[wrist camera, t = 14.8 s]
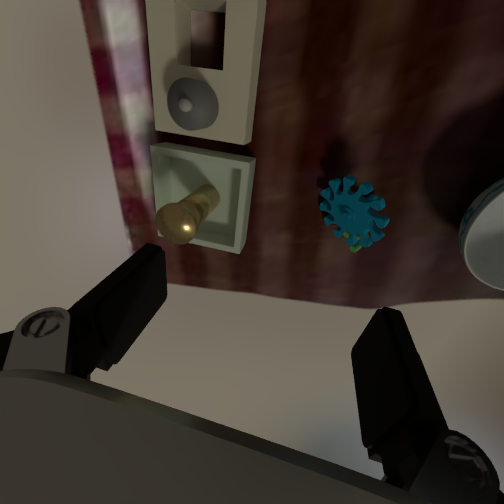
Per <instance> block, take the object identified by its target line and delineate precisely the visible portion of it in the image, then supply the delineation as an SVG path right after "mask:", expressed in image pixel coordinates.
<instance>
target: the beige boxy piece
mask: <svg viewBox="0 0 504 504" xmlns="http://www.w3.org/2000/svg"><path fill="white" fill-rule="evenodd" d="M145 2H146V15H147V27H148V40H149V53H150V66H151V79H152V91H153V104H154V117H155V130H158V131H164V132H170V133H176V134H181V135H187V136H193V137H199V138H205V139H211V140H217V141H223V142H229V143H235V144H241V145H245V144H247V143H249V142H251V137H252V128H253V119H254V110H255V101H256V92H257V83H258V74H259V65H260V56H261V47H262V38H263V29H264V20H265V11H266V0H145ZM190 9H191V10H201V11H211V12H221V13H226V19H225V40H224V60H223V71H222V70H214V69H206V68H199V67H191V10H190Z"/></svg>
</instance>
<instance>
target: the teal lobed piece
mask: <svg viewBox="0 0 504 504" xmlns="http://www.w3.org/2000/svg"><path fill="white" fill-rule="evenodd" d="M355 183H356V178H355V177H354V176H351V175H348V176H346V177H344V178H343V184H344V189H343V192H341V191H340V188H339V187H340V185H341V179H340V178H335V179H332V180H331V181H329V185H330V187H331V188H332V190H333V193H334V197H333V196H332V190H331V188H330V187H327V188H326V189H324V190H323V191H322V192H321V195H322V196H323V197H324V198H325V199H327V200H328V201H326V200H325V201H323V202H321V204H320V209H321V210H322V211H326V212H328V213H330V214H331V215H332V216H333V217H332V216H331V215H328V216H326V217H325V218H324V221H325V224H326V225H330V224H337V225H339V226H340V227H341V228H340V227H338V228H336V229H335V230H333V233H334V235H335V236H336V237H337V238H339V237H340V236H342V235H344V237H345V238H347V239H346V242H347V243H348V244H349V245H351V246H350V250H351V251H352V252H356V251H357V250H359V249H360V248H361V247H362V246H363V247H369V246H370V245H371V244H372V240H373V241H378V240H380V239H381V238H382V237H384V236H385V235H384V233H383V232H382V231H381V230H379V229H378V228H377V227H376V226H375V225H374V223H373V221H372V220H374V221H375V223H376V225H377V226H378V227H379V228H384V227H385V226H386V225H387V224H388V223H389V220H390V218H389V217H388V216H384V215H379V214H377V213H375V212H374V211H373V210H371V208H370V206H371V207H372V208H373V209H375V210H377V211H379V210H381V209H383V208H384V207H385V201H384V198H383V197H378V198H377V196H376V195H375V194H371V195H370V196H368V197H367V198H365V199H364V198H363V197H362V194H363V195H367V194H368V193H370V192H371V191H373V187H372V185H371V184H370V183H369V182H368V181H366V182H365V183H363V184H361V185H360V187H359V189H358V191H357V192H355V193H354V192H352V191H351V189H350V187H351V186H352V185H353V184H355ZM329 203H330V204H329ZM330 205H331V206H330ZM368 231H370V232H371V239H372V240H371V239H370V237H369V235H368Z"/></svg>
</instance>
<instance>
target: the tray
mask: <svg viewBox="0 0 504 504" xmlns="http://www.w3.org/2000/svg"><path fill="white" fill-rule="evenodd" d="M150 151H151V162H152V172H153V183H154V194H155V205H156V213H157V211H158V210H159V209H160V208H161V207H162V206H164V205H166V204H168V203H177V202H179V201H180V200H182V199H183V198H185V197H186V196H187V195H189V194H190V193H192V192H193V191H194V190H196V189H197V188H199V187H200V186H202V185H205V184H207V185H211V186H213V187H215V188H216V189H217V191H218V192H219V195H220V203H219V205H218V206H217V207H216V208H215V209H214V210H213V211H212V212H211V213H210V214H209V215H208V216H207V217H206V218H205V220H204V221H203V222H202V223H201V224H200V225H199V226H198V232H197V234H196V236H195V237H194V238H193V239H192V240H191V241H190V242H188V243H193V244H197V245H202V246H206V247H211V248H215V249H219V250H224V251H228V252H233V253H237V254H240V252H241V250H242V248H243V246H244V244H245V242H246V234H247V226H248V218H249V210H250V202H251V194H252V186H253V178H254V170H255V162H256V158H254V157H248V156H243V155H237V154H231V153H226V152H220V151H214V150H208V149H203V148H197V147H191V146H185V145H180V144H174V143H168V142H163V143H158V144H154V145H150ZM158 236H162V235H161V233H160V232H159V230H158ZM162 237H163V236H162Z"/></svg>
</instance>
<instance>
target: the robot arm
mask: <svg viewBox="0 0 504 504" xmlns="http://www.w3.org/2000/svg"><path fill="white" fill-rule="evenodd" d="M166 298H167V279H166V262H165V252H164V251H163V250H162V248H161V247H160V246H158V245H154V244H150V243H147V244H145V245H144V246H143V247H142V248H140V249H139V250H138V251H137V252H136V253H134V254H133V255H132V256H131V257H130V258H129V259H127V260H126V261H125V262H124V263H123V264H121V265H120V266H119V267H118V268H117V269H115V271H113V272H112V273H111V274H110V275H108V276H107V277H106V278H105V279H104V280H102V281H101V282H100V283H99V284H98V285H97V286H95V287H94V288H93V289H92V290H90V291H89V292H88V293H87V294H86V295H85V296H83V297H82V298H81V299H80V300H79V301H77V302H76V303H75V304H74V305H73V306H72V307H71V308H70V309H69V310H65V309H63V308H59V307H50V308H45V309H41V310H38V311H35V312H33V313H31V314H29V315H28V316H26V317H25V318H23V319H22V320H21V321H20V322H19V323H18V325H17V326H16V328H15V330H13V331H10V332H6V333H2V334H0V504H504V493H503V492H501V490H500V489H499V488H500V481H499V478H498V475H497V471H496V470H495V468H494V466H493V464H492V462H491V461H490V459H489V458H488V457H487V455H486V454H485V453H484V451H483V450H482V449H481V448H480V447H479V446H478V445H477V444H476V443H475V442H474V441H472V440H471V439H470V438H468V437H467V436H465V435H464V434H462V433H459V432H458V431H454V430H449V429H448V426H447V424H446V421H445V418H444V416H443V414H442V411H441V409H440V406H439V403H438V401H437V398H436V396H435V393H434V391H433V388H432V386H431V383H430V381H429V378H428V376H427V373H426V371H425V368H424V366H423V363H422V360H421V358H420V355H419V354H418V352H417V350H416V348H415V345H414V343H413V340H412V337H411V335H410V332H409V330H408V327H407V325H406V322H405V320H404V317H403V315H402V313H401V311H399V310H395V309H392V308H388V307H383V308H382V309H378V310H377V311H376V312H375V314H374V316H373V317H372V318H371V320H370V322H369V323H368V325H367V326H366V328H365V329H364V331H363V333H362V334H361V336H360V337H359V339H358V340H357V342H356V343H355V345H354V346H353V348H352V352H351V359H352V366H353V374H354V382H355V389H356V397H357V405H358V412H359V420H360V428H361V436H362V442H363V445H364V447H366V448H367V450H368V457H369V459H371V460H374V461H377V462H380V463H382V464H383V470H384V474H385V475H384V477H383V478H382V480H378V479H375V478H372V477H370V476H367V475H364V474H362V473H359V472H356V471H354V470H351V469H348V468H345V467H343V466H340V465H337V464H334V463H332V462H329V461H326V460H323V459H320V458H317V457H314V456H311V455H309V454H305V453H303V452H300V451H297V450H294V449H291V448H288V447H286V446H283V445H280V444H277V443H274V442H271V441H268V440H265V439H262V438H260V437H257V436H254V435H251V434H248V433H245V432H242V431H239V430H236V429H233V428H230V427H227V426H224V425H222V424H218V423H216V422H213V421H210V420H207V419H204V418H201V417H198V416H195V415H192V414H189V413H186V412H184V411H181V410H178V409H175V408H172V407H169V406H166V405H162V404H160V403H157V402H154V401H151V400H148V399H145V398H142V397H139V396H136V395H133V394H130V393H127V392H124V391H121V390H118V389H115V388H112V387H109V386H105V385H102V384H99V383H96V382H93V381H90V374H91V373H92V372H93V370H94V369H95V368H100V369H102V370H105V371H108V370H109V369H110V367H111V366H112V365H113V364H117V363H118V362H119V361H120V360H121V358H122V357H123V356H124V354H125V353H126V352H127V351H128V349H129V348H130V347H131V345H132V344H133V343H134V341H135V340H136V338H137V337H138V336H139V335H140V333H141V332H142V331H143V329H144V328H145V327H146V325H147V324H148V323H149V322H150V320H151V319H152V318H153V316H154V315H155V313H156V312H157V311H158V310H159V308H160V307H161V306H162V304H163V303H164V302H165V300H166Z"/></svg>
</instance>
